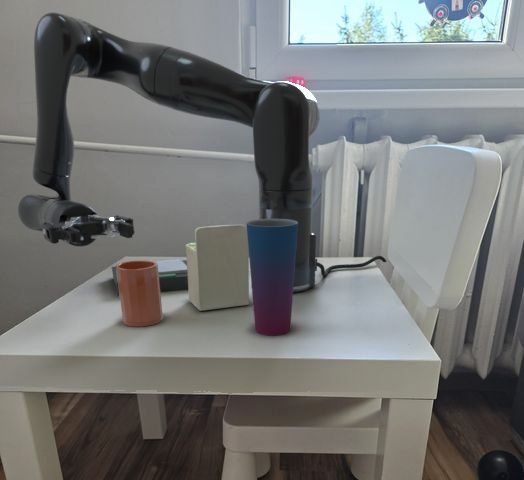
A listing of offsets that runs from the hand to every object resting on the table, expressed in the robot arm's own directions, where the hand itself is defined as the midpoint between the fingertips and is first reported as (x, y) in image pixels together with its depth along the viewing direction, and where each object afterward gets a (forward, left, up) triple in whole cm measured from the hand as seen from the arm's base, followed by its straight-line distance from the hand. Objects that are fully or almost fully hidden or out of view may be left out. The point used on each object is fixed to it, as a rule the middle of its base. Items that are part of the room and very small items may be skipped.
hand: (105, 234), depth 79 cm
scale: (-9, -10, -11) cm, 18 cm away
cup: (-21, +22, -12) cm, 32 cm away
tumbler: (-4, +11, -11) cm, 16 cm away
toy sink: (-17, +7, -12) cm, 21 cm away
